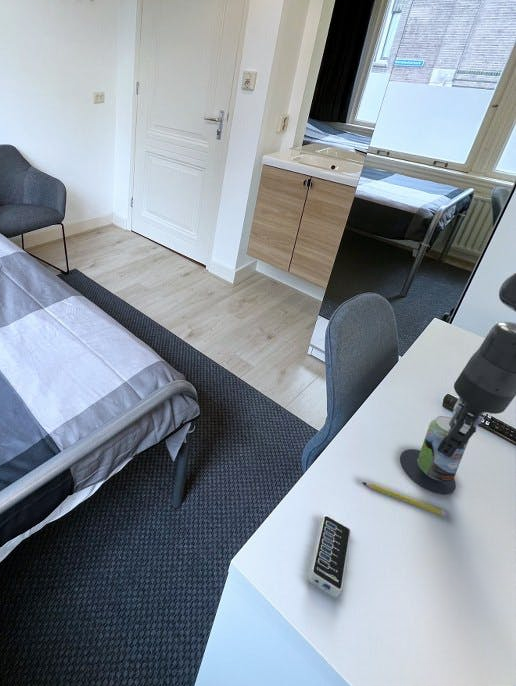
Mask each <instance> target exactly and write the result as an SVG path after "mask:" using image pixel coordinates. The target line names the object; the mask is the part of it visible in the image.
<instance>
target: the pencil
mask: <svg viewBox="0 0 516 686" xmlns="http://www.w3.org/2000/svg"><path fill="white" fill-rule="evenodd" d="M361 483H362V484H364V485H365V486H367V487H368V488H370V489H372V490H374V491H376V492H380V493H382V494H385V495H387V496H389V497H392V498H394V499H397V500H400V501H403V502H405V503H407V504H410V505H413V506H416V507H418V508H421V509H423V510H426V511H427V512H428V511H429V512H431V513H433V514H436V515H438V516H441V517H444V518H447V515H448V514H447V511H445V510H442V509H439V508H437V507H434V506H433V505H430V504H427V503H425V502H422V501H419V500H416V499H414V498H411V497H408V496H407V495H406V496H405V495H403V494H400V493H398V492H396V491H393V490H390V489H388V488H385V487H383V486H381V485H377V484H376V483H375V484H374V483H372V482H364V481H363V482H361Z"/></svg>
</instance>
